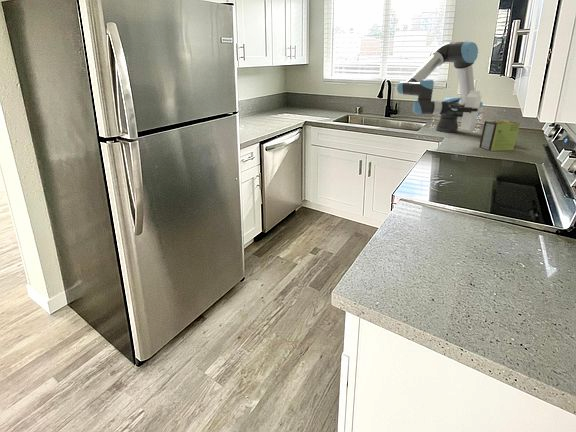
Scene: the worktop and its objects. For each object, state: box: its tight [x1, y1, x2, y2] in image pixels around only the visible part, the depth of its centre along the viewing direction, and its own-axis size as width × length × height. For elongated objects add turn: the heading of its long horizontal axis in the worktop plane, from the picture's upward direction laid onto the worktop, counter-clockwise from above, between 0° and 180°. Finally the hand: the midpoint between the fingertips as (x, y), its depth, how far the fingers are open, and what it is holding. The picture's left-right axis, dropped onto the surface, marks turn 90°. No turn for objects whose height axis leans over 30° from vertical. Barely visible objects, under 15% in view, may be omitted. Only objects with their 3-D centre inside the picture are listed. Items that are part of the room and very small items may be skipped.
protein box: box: [479, 119, 521, 152], centre depth 216 cm, size 10×15×16 cm
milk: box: [459, 90, 482, 131], centre depth 219 cm, size 6×6×22 cm
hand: (479, 108), depth 218 cm, fingers closed on milk, 8 cm apart
